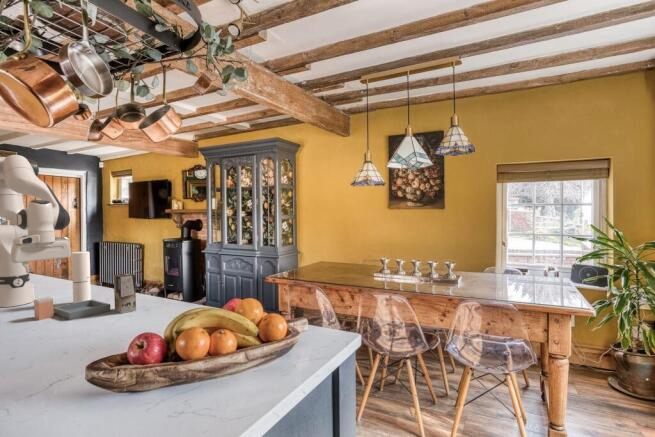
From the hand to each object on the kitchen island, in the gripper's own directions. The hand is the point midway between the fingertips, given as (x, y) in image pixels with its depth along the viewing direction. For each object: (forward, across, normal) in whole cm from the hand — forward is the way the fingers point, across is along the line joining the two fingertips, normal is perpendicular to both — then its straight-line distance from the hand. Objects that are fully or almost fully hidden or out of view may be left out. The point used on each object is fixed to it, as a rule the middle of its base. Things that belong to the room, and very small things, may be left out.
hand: (42, 270), depth 151 cm
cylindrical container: (+20, -20, -13) cm, 31 cm away
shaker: (+20, 0, 0) cm, 20 cm away
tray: (+20, -12, +5) cm, 24 cm away
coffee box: (+20, -24, +19) cm, 37 cm away
